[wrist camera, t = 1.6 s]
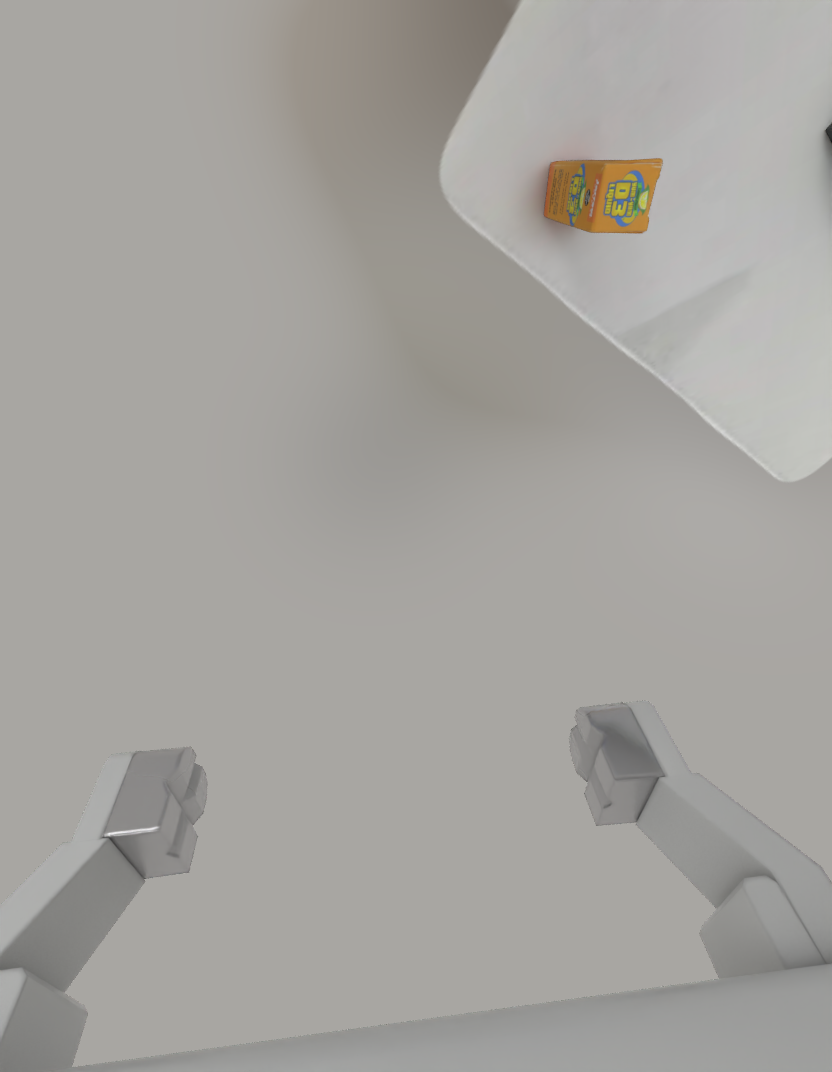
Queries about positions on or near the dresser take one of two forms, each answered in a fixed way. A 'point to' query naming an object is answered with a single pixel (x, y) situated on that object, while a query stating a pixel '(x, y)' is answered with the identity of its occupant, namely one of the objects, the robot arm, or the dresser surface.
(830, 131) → the kitchen scale
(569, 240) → the dresser surface
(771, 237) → the dresser surface
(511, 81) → the dresser surface
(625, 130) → the dresser surface
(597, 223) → the supplement box
